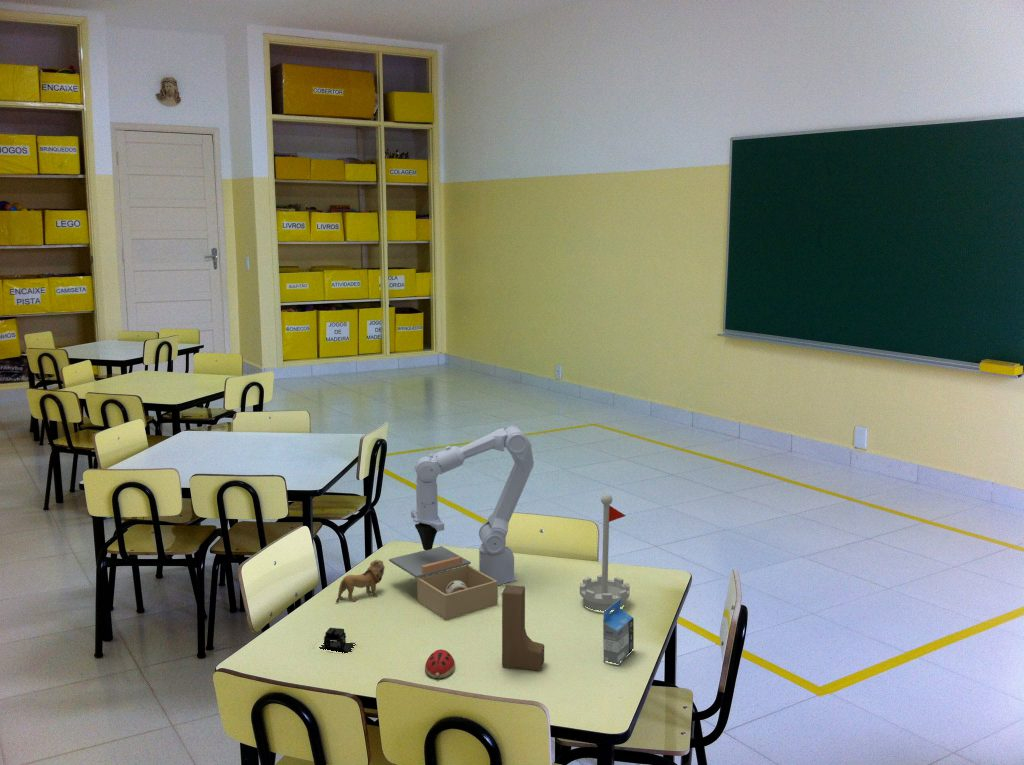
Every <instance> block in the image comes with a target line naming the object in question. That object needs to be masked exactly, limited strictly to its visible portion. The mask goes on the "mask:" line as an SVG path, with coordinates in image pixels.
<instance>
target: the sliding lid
mask: <svg viewBox="0 0 1024 765" xmlns="http://www.w3.org/2000/svg"><path fill="white" fill-rule="evenodd" d="M388 561H389V562H391V563H392V564H393V565H395V566H397V567H398V568H400V569H401V570H403V571H404V572H406V573H408V574H410V575H411V576H413V577H414V578H416V579H417V578H420V577H424V576H428V575H432V574H435V573H439V572H443V571H447V570H451V569H455V568H458V567H462V566H466V565H469V566H470V565H472V564H471V560H467V559H466V558H464V557H462V556H460V555H459V554H457V553H455V552H453V551H452V550H449V549H448V548H445V547H444V546H442V545H441V546H437V547H434V548H433V547H432V549H430V550H424V549H423V550H422V551H421V550H420V551H416V552H412V553H409V554H405V555H400V556H395V557H391V558H389V559H388Z"/></svg>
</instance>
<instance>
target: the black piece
mask: <svg viewBox="0 0 1024 765" xmlns="http://www.w3.org/2000/svg"><path fill="white" fill-rule="evenodd" d="M324 634H325V635H324V636H323V640H324V643H323V644H324V645H321V646H322V647H319V648H320V649H323V650H324V649H325V650H326V649H327V650H331V651H336V652H337V651H338V652H342V653H341V654H345V653H348V652H353V651H351V650H352V649H351V648H354V647H353V646H355V645H356V644H355V643H356V642H350V643H346V642H347V641H346V640H347V639H346V638H347V635H346V632H345V629H344V628H341V627H339V628H338V627H329V628H328V629H327V630H326V632H325V633H324ZM353 644H355V645H353ZM356 646H357V645H356ZM354 649H355V648H354ZM343 652H344V653H343Z"/></svg>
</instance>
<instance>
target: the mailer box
mask: <svg viewBox="0 0 1024 765" xmlns="http://www.w3.org/2000/svg"><path fill="white" fill-rule="evenodd" d="M416 579H417V580H416V581H417V582H416V583H417V586H416V587H417V588H416V589H417V602H418V603H420V604H421V605H422V606H423V607H425V608H426V609H428V610H429V611H431V612H432V613H433V614H436V615H437V616H439V617H440V618H442V619H443V620H444V621H448V620H451V619H455V618H457V617H458V618H459V617H461V616H465V615H467V614H471V613H474V612H477V611H481V610H484V609H488V608H491V607H495V606H498V605H499V602H498V598H499V597H498V596H499V595H498V594H499V593H498V592H499V591H498V590H499V589H498V587H499V585H498V581H496V580H494V579H493V578H491V577H489V576H487V575H485V574H484V573H482V572H480V571H479V569H476V568H474V567H473V566H470V564H469V565H465V566H461V567H457V568H454V569H450V570H446V571H442V572H438V573H434V574H431V575H427V576H423V577H419V578H416ZM457 580H458V581H462V582H463V583H464V584H465V585H466V586H467V588H468V589H464V590H461V591H457V592H453V593H450V594H446V588H447V586H448V585H449V584H450V583H451V582H453V581H457Z"/></svg>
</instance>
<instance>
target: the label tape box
mask: <svg viewBox="0 0 1024 765" xmlns="http://www.w3.org/2000/svg"><path fill="white" fill-rule="evenodd" d="M620 604H621V599H620V600H618V601H617V602H616V603H614V604H613V605H612V606H610V607H609V608H608V609H607V610H606V611H604V613H603V619H602V623H603V626H602V628H603V629H602V634H603V635H602V637H603V640H602V642H603V644H602V645H603V647H602V648H603V662H604V661H608V662H612V663H616V664H619V663H620V661H622V660H623V659H624V658H625V657H626V656H627V655H628V654H629V653H630V652H631V651H632V649H634V647H635V644H634V640H635V637H634V636H635V635H634V632H635V630H634V628H635V626H634V623H635V622H634V621H635V620H634V619H635V618H634V617H633V616H632V615H630V614H629V613H627V612H626V611H625V610H624V609H620ZM612 608H613V609H614V608H615V609H614V611H613V612H611V613H609V612H610V611H611V610H612ZM634 650H635V649H634ZM632 652H633V651H632ZM632 652H631V653H632ZM631 653H630V654H631ZM630 654H629V655H630ZM629 655H628V656H629ZM628 656H627V657H628ZM627 657H626V658H627ZM626 658H625V659H626ZM625 659H624V660H625ZM624 660H623V661H624ZM623 661H622V662H623ZM620 664H621V663H620ZM620 664H619V665H620Z"/></svg>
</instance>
